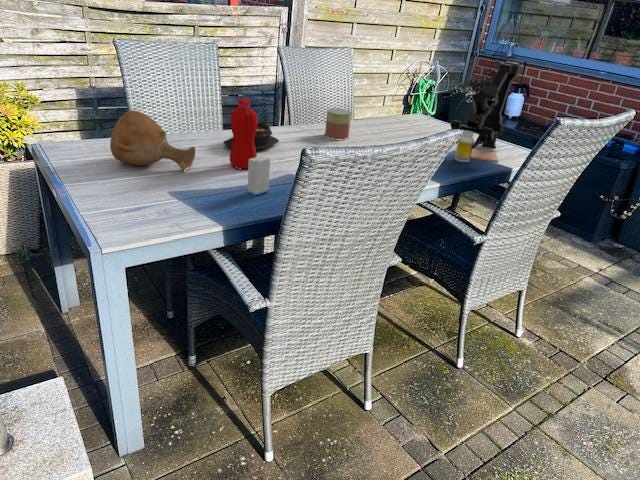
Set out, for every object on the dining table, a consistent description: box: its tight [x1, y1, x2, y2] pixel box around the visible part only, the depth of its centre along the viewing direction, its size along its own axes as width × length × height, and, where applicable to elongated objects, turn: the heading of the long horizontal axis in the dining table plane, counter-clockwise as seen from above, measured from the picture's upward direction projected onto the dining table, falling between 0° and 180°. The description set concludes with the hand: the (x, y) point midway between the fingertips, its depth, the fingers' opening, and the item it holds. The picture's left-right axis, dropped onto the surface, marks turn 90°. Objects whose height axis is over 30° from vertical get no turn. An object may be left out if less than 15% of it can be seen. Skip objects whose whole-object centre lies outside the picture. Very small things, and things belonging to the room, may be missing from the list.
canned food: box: [324, 107, 352, 139], centre depth 233 cm, size 11×11×12 cm
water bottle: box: [229, 98, 259, 168], centre depth 183 cm, size 9×11×25 cm
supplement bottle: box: [454, 130, 475, 163], centre depth 217 cm, size 7×7×13 cm
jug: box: [109, 110, 196, 172], centre depth 178 cm, size 20×19×30 cm
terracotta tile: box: [470, 149, 499, 163], centre depth 228 cm, size 12×12×1 cm
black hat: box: [223, 122, 280, 150], centre depth 211 cm, size 25×19×8 cm
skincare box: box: [247, 155, 271, 193], centre depth 165 cm, size 6×4×12 cm
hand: (463, 146), depth 216 cm, fingers open, 8 cm apart
